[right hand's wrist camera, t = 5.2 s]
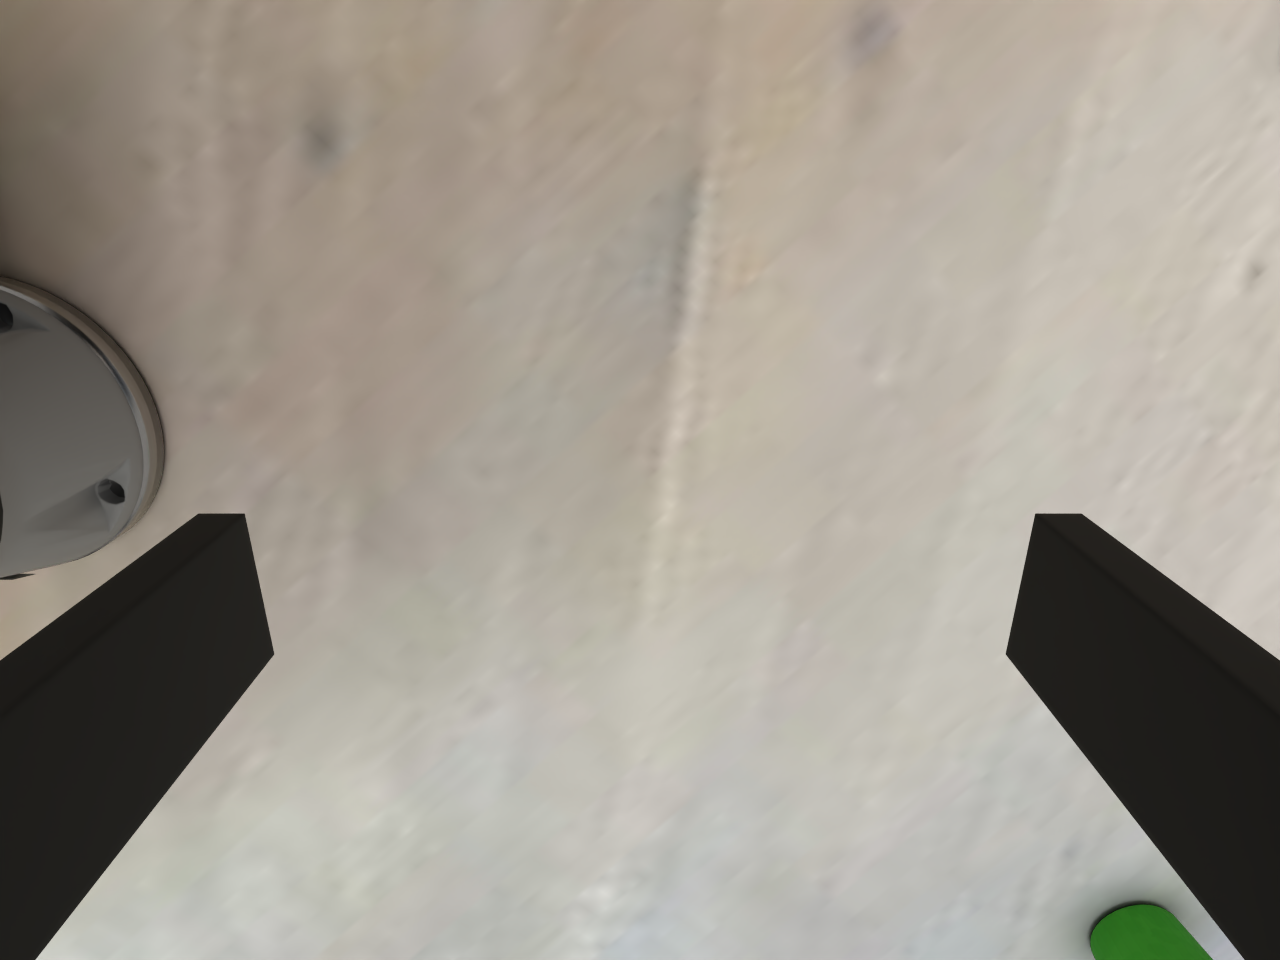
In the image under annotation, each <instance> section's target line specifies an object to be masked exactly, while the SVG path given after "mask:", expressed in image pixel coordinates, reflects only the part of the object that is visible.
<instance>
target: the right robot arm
mask: <svg viewBox="0 0 1280 960" xmlns="http://www.w3.org/2000/svg"><path fill="white" fill-rule="evenodd" d="M163 463H164V443H163V434H162V429H161V424H160V420H159V416H158V413H157V410H156V407H155V404H154V402H153V400H152V397H151V395H150V393H149V390H148V389H147V387H146V385H145V383H144V381H143V379H142V377H141V376H140V374H139V373H138V371H137V370H136V368H135V367H134V365H133V363H132V362H131V361H130V360H129V358H128V357H127V356H126V354H125V353H124V352H123V351H122V349H121V348H120V347H119V346H118V345H117V344H116V343H115V342H114V340H113V339H112V338H111V337H110V336H109V335H108V334H106V333H105V332H104V331H103V330H102V329H101V328H100V327H99V326H98V325H97V324H95V323H94V322H93V321H92V320H91V319H89V318H88V317H87V316H86V315H84V314H83V313H81V312H80V311H79V310H77V309H76V308H74V307H73V306H71V305H70V304H68V303H66V302H65V301H63V300H61V299H59V298H58V297H56V296H54V295H52V294H50V293H48V292H46V291H44V290H42V289H39V288H37V287H34V286H31V285H29V284H26V283H23V282H20V281H17V280H13V279H10V278H5V277H1V276H0V580H13V579H17V578H21V577H26V576H30V575H34V574H19V573H24V572H28V571H33V570H37V569H42V568H46V567H51V566H55V565H60V564H63V563H67V562H71V561H74V560H78V559H80V558H83V557H85V556H88V555H90V554H92V553H94V552H96V551H98V550H100V549H101V548H103V547H104V546H105V545H107V544H108V543H110V542H111V541H113V540H114V539H116V538H117V537H119V536H120V535H122V534H123V533H125V532H126V531H128V530H129V529H130V528H131V527H132V526H133V525H135V524H136V523H137V522H138V521H139V520H140V518H141V517H142V516H143V515H144V514H145V512H146V511H147V509H148V508H149V506H150V505H151V503H152V501H153V499H154V497H155V495H156V493H157V490H158V487H159V485H160V481H161V477H162V472H163ZM273 655H274V651H273V646H272V641H271V636H270V632H269V627H268V622H267V617H266V613H265V608H264V603H263V598H262V594H261V589H260V584H259V579H258V575H257V570H256V565H255V561H254V556H253V551H252V546H251V542H250V537H249V532H248V527H247V523H246V518H245V514H197V515H196V516H195V517H193V518H192V519H191V520H189V521H188V522H187V523H185V524H184V525H183V526H181V527H180V528H178V529H177V530H176V531H174V532H173V533H172V534H170V535H169V536H168V537H166V538H165V539H164V540H162V541H161V542H160V543H158V544H157V545H156V546H154V547H153V548H151V549H150V550H149V551H147V552H146V553H145V554H143V555H142V556H141V557H139V558H138V559H137V560H135V561H134V562H133V563H131V564H130V565H129V566H127V567H126V568H124V569H123V570H122V571H120V572H119V573H118V574H116V575H115V576H114V577H112V578H111V579H110V580H108V581H107V582H106V583H104V584H103V585H102V586H100V587H99V588H97V589H96V590H95V591H93V592H92V593H91V594H89V595H88V596H87V597H85V598H84V599H83V600H81V601H80V602H79V603H77V604H76V605H75V606H73V607H72V608H71V609H69V610H68V611H66V612H65V613H64V614H62V615H61V616H60V617H58V618H57V619H56V620H54V621H53V622H52V623H50V624H49V625H48V626H46V627H45V628H44V629H42V630H41V631H39V632H38V633H37V634H35V635H34V636H33V637H31V638H30V639H29V640H27V641H26V642H25V643H23V644H22V645H21V646H19V647H18V648H17V649H15V650H14V651H12V652H11V653H10V654H8V655H7V656H6V657H4V658H3V659H2V660H0V960H35V959H36V958H37V957H38V956H39V954H40V953H41V952H42V951H43V949H44V948H45V947H46V945H47V944H48V943H49V942H50V940H51V939H52V938H53V936H54V935H55V934H56V933H57V931H58V930H59V929H60V928H61V926H62V925H63V924H64V922H65V921H66V920H67V919H68V917H69V916H70V915H71V913H72V912H73V911H74V910H75V908H76V907H77V906H78V904H79V903H80V902H81V901H82V899H83V898H84V897H85V896H86V894H87V893H88V892H89V890H90V889H91V888H92V887H93V885H94V884H95V883H96V881H97V880H98V879H99V878H100V876H101V875H102V874H103V873H104V871H105V870H106V869H107V867H108V866H109V865H110V864H111V862H112V861H113V860H114V858H115V857H116V856H117V855H118V853H119V852H120V851H121V850H122V848H123V847H124V846H125V844H126V843H127V842H128V841H129V839H130V838H131V837H132V835H133V834H134V833H135V832H136V830H137V829H138V828H139V827H140V825H141V824H142V823H143V821H144V820H145V819H146V818H147V816H148V815H149V814H150V812H151V811H152V810H153V809H154V807H155V806H156V805H157V803H158V802H159V801H160V800H161V798H162V797H163V796H164V795H165V793H166V792H167V791H168V789H169V788H170V787H171V786H172V784H173V783H174V782H175V780H176V779H177V778H178V777H179V775H180V774H181V773H182V772H183V770H184V769H185V768H186V766H187V765H188V764H189V763H190V761H191V760H192V759H193V757H194V756H195V755H196V754H197V752H198V751H199V750H200V749H201V747H202V746H203V745H204V743H205V742H206V741H207V740H208V738H209V737H210V736H211V734H212V733H213V732H214V731H215V729H216V728H217V727H218V726H219V724H220V723H221V722H222V720H223V719H224V718H225V717H226V715H227V714H228V713H229V711H230V710H231V709H232V708H233V706H234V705H235V704H236V702H237V701H238V700H239V699H240V697H241V696H242V695H243V694H244V692H245V691H246V690H247V688H248V687H249V686H250V685H251V683H252V682H253V681H254V679H255V678H256V677H257V676H258V674H259V673H260V672H261V671H262V669H263V668H264V667H265V665H266V664H267V663H268V662H269V660H270V659H271V658H272V656H273ZM1006 655H1007V656H1008V658H1009V659H1010V660H1011V662H1012V663H1013V664H1014V665H1015V667H1016V668H1017V669H1018V671H1019V672H1020V673H1021V674H1022V676H1023V677H1024V678H1025V679H1026V681H1027V682H1028V683H1029V685H1030V686H1031V687H1032V688H1033V690H1034V691H1035V692H1036V694H1037V695H1038V696H1039V697H1040V699H1041V700H1042V701H1043V702H1044V704H1045V705H1046V706H1047V708H1048V709H1049V710H1050V711H1051V713H1052V714H1053V715H1054V717H1055V718H1056V719H1057V720H1058V722H1059V723H1060V724H1061V726H1062V727H1063V728H1064V729H1065V731H1066V732H1067V733H1068V734H1069V736H1070V737H1071V738H1072V740H1073V741H1074V742H1075V743H1076V745H1077V746H1078V747H1079V749H1080V750H1081V751H1082V752H1083V754H1084V755H1085V756H1086V757H1087V759H1088V760H1089V761H1090V763H1091V764H1092V765H1093V766H1094V768H1095V769H1096V770H1097V772H1098V773H1099V774H1100V775H1101V777H1102V778H1103V779H1104V780H1105V782H1106V783H1107V784H1108V786H1109V787H1110V788H1111V789H1112V791H1113V792H1114V793H1115V795H1116V796H1117V797H1118V798H1119V800H1120V801H1121V802H1122V803H1123V805H1124V806H1125V807H1126V809H1127V810H1128V811H1129V812H1130V814H1131V815H1132V816H1133V818H1134V819H1135V820H1136V821H1137V823H1138V824H1139V825H1140V827H1141V828H1142V829H1143V830H1144V832H1145V833H1146V834H1147V835H1148V837H1149V838H1150V839H1151V841H1152V842H1153V843H1154V844H1155V846H1156V847H1157V848H1158V850H1159V851H1160V852H1161V853H1162V855H1163V856H1164V857H1165V858H1166V860H1167V861H1168V862H1169V864H1170V865H1171V866H1172V867H1173V869H1174V870H1175V871H1176V873H1177V874H1178V875H1179V876H1180V878H1181V879H1182V880H1183V881H1184V883H1185V884H1186V885H1187V887H1188V888H1189V889H1190V890H1191V892H1192V893H1193V894H1194V896H1195V897H1196V898H1197V899H1198V901H1199V902H1200V903H1201V904H1202V906H1203V907H1204V908H1205V910H1206V911H1207V912H1208V913H1209V915H1210V916H1211V917H1212V919H1213V920H1214V921H1215V922H1216V924H1217V925H1218V926H1219V928H1220V929H1221V930H1222V931H1223V933H1224V934H1225V935H1226V936H1227V938H1228V939H1229V940H1230V942H1231V943H1232V944H1233V945H1234V947H1235V948H1236V949H1237V951H1238V952H1239V953H1240V954H1241V956H1242V957H1243V958H1244V959H1245V960H1280V660H1278V659H1277V658H1276V657H1274V656H1273V655H1272V654H1270V653H1269V652H1268V651H1266V650H1265V649H1263V648H1262V647H1261V646H1259V645H1258V644H1257V643H1255V642H1254V641H1253V640H1251V639H1250V638H1249V637H1247V636H1246V635H1245V634H1243V633H1242V632H1241V631H1239V630H1238V629H1236V628H1235V627H1234V626H1232V625H1231V624H1230V623H1228V622H1227V621H1226V620H1224V619H1223V618H1222V617H1220V616H1219V615H1218V614H1216V613H1215V612H1214V611H1212V610H1211V609H1209V608H1208V607H1207V606H1205V605H1204V604H1203V603H1201V602H1200V601H1199V600H1197V599H1196V598H1195V597H1193V596H1192V595H1191V594H1189V593H1188V592H1187V591H1185V590H1184V589H1183V588H1181V587H1180V586H1178V585H1177V584H1176V583H1174V582H1173V581H1172V580H1170V579H1169V578H1168V577H1166V576H1165V575H1164V574H1162V573H1161V572H1160V571H1158V570H1157V569H1156V568H1154V567H1153V566H1151V565H1150V564H1149V563H1147V562H1146V561H1145V560H1143V559H1142V558H1141V557H1139V556H1138V555H1137V554H1135V553H1134V552H1133V551H1131V550H1130V549H1129V548H1127V547H1126V546H1124V545H1123V544H1122V543H1120V542H1119V541H1118V540H1116V539H1115V538H1114V537H1112V536H1111V535H1110V534H1108V533H1107V532H1106V531H1104V530H1103V529H1102V528H1100V527H1099V526H1097V525H1096V524H1095V523H1093V522H1092V521H1091V520H1089V519H1088V518H1087V517H1085V516H1084V515H1083V514H1035V518H1034V523H1033V527H1032V532H1031V537H1030V542H1029V546H1028V551H1027V556H1026V561H1025V565H1024V570H1023V575H1022V579H1021V584H1020V589H1019V594H1018V598H1017V603H1016V608H1015V613H1014V617H1013V622H1012V627H1011V632H1010V636H1009V641H1008V646H1007V651H1006Z"/></svg>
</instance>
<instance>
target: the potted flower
mask: <svg viewBox="0 0 1280 960" xmlns="http://www.w3.org/2000/svg"><path fill="white" fill-rule="evenodd" d="M1090 946H1091V950H1092V953H1093V955H1094V957H1095V959H1096V960H1213V959H1212V958H1211V957H1210V956H1209V955H1208V954H1207V952H1206V951H1205V950H1204V949H1203V948H1202V947H1201V946H1200V945H1199V943H1198V942H1197V941H1196V940H1195V939H1194V938H1193V937H1192V935H1191V934H1190V933H1189V932H1188V931H1187V930H1186V929H1185V928H1184V926H1183V925H1182V924H1181V923H1180V922H1179V921H1178V920H1177V918H1176V917H1175V916H1174V915H1173V914H1171V913H1170V912H1168V911H1167V910H1165V909H1163V908H1160V907H1158V906H1153V905H1133V906H1129V907H1125V908H1122V909H1119V910H1117V911H1114V912H1113V913H1111V914H1109V915H1107V916H1106V917H1105V918H1103V919H1102V920H1101V921H1100V922H1099V923H1098V924H1097V925H1096V927H1095V928H1094V930H1093V932H1092V935H1091V940H1090Z"/></svg>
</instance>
